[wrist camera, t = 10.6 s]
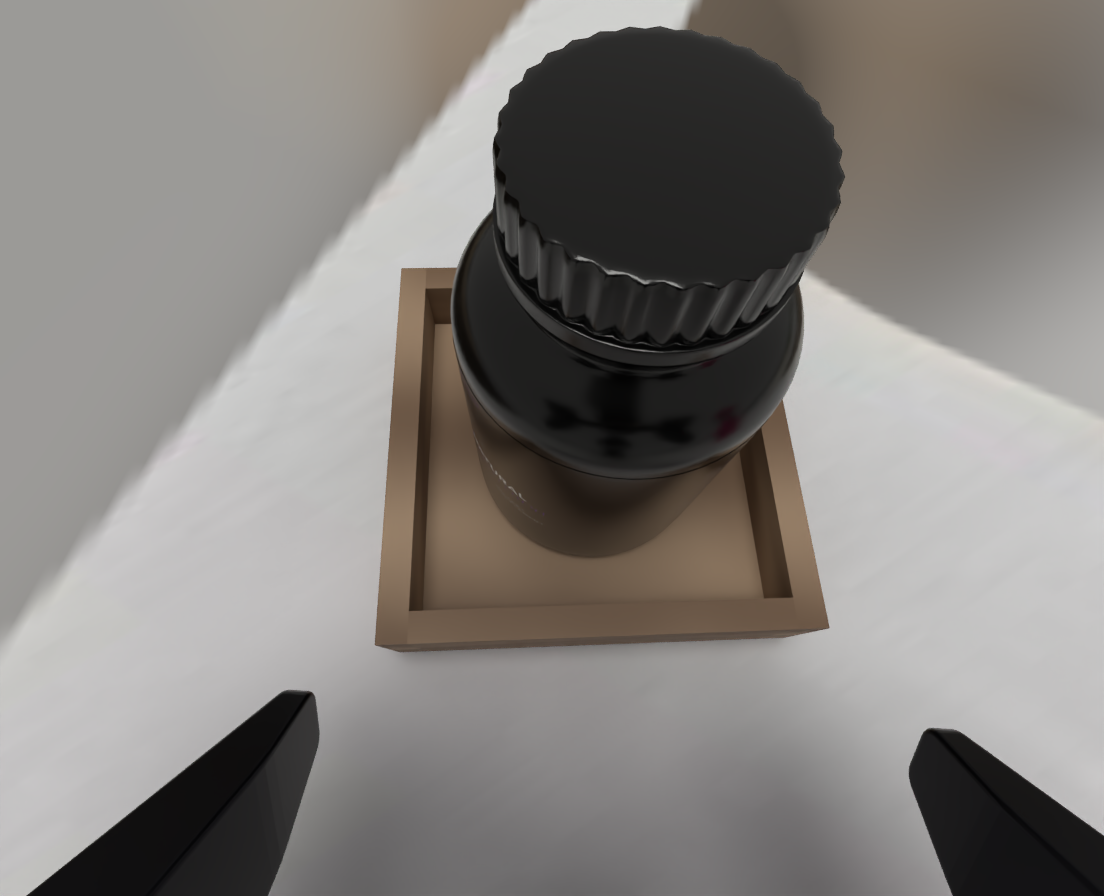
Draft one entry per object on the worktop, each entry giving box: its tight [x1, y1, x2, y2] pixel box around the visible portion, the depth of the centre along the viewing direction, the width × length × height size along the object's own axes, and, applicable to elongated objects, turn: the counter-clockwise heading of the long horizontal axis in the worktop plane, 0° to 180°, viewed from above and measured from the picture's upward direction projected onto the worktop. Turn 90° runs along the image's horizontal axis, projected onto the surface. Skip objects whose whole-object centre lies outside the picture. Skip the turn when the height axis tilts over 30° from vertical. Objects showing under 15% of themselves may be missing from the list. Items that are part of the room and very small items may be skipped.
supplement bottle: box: [450, 26, 845, 557], centre depth 13 cm, size 7×7×12 cm
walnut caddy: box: [375, 268, 829, 652], centre depth 19 cm, size 12×12×3 cm
